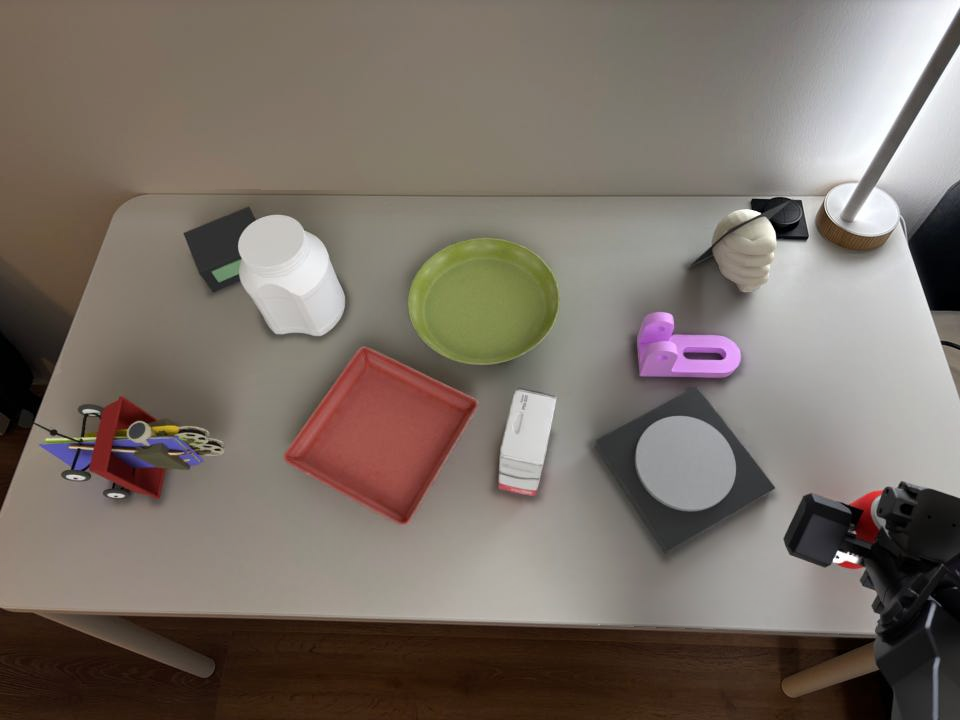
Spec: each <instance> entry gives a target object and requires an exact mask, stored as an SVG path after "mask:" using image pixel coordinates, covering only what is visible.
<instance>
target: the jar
mask: <svg viewBox="0 0 960 720" xmlns="http://www.w3.org/2000/svg"><path fill="white" fill-rule="evenodd" d="M238 250H239V253H240V256H241V258H242V260H241V263H240V267H239V276H240V281H239V282H240V283H241V285H242V287H243V288H244V290H245V292H246V293H247V295H249V296H250V298H251V300H252V301H253V303H254V305H255V307H257V309H258V311H259V312H260V314H261V315H262V317H263V320H264V322H265V323H266V324H267V326H268V327H269V329H270V331H272V333H274V334H275V335H285V334H297V333H298V334H304V335H305V334H306V335H310V336H312V337H322V336H324V335H326V334H327V333H329V332H330V331H331V330H333V328H334V327H336V325H337V324H338V323H339V321H340V320H341V318H342V317H343V315H344V312H345V308H346V296H345V292H344V289H343V287H342V285H341V283H340V282H339V279H338V277H337V273H336V271H335V269H334V267H333V265H332V261H331V259H330V255H329V253H328V250H327V247H326V246H325V244H324V243H323V241H322V240H321V239H320V238H319V237H317V236H316V235H314V234H313V233H311V232H309V231H306V230H304V227H303V226H302V225H301V223H300V222H299V221H298V220H297V219H295V218H293V217H291V216H288V215H284V214H271V215H266V216H263V217H260V218H257V219H256V221H254V222H253V223H251V224H250V225H249V226H248V227H247V228H246V229H245V230H244V231H243V233H242V234H241V236H240V239H239V242H238Z"/></svg>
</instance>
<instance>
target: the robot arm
mask: <svg viewBox="0 0 960 720" xmlns="http://www.w3.org/2000/svg"><path fill="white" fill-rule="evenodd" d="M882 490H883V492H882V495H881V498H880V501H879V504H878V507H877V510H876V513H877V516H878V517H880V518H883V519H885V521H886V524H885V526H881V528H880V530H879V532H878V534H877V536H876V538H875V540H874V543H871V542H868V541H865V540H862V539H860V538H857V537H856V536H857V533H856V531H854V529H855V527H856V525H857V523H858V521H859V520H860V518H861V516H862V514H863V512H864V510H862V509H859V508H856V507H853V506H850V505H849V504H847V503H845V502H843V501H837V500H833V499H830V498H828V497H825V496H821V495H819V494H816V493H813V492H810V493H807V494H805V495H803V496H802V498H801V500H800V501H799V504H798V507H797V508H796V511H795V513H794V515H793V517H792V519H791V521H790V522H789V526H788V528H787V530H786V531H785V534H784V536H783V537H782V539H783V543H784V546H785V549H786V551H787V553H788V555H789V556H792V557H794V558H796V559H799V560H803V561H804V562H807V563H811V564H813V565H817V566H819V567H821V568H824V569H825V568H828V567H830V566H831V565H832V563H833V564H835V563H836V564H835V565H837V564H840V563H842V562H844V561H849V562H852V563H854V564H857V565H860V566H863V568H865V569H864V571H863V573H862V574H861V577H860V578H859V582H860V584H861V586H862V587H864V588H866V589H870V590H872V591H875V593H876V596H875V598H874V599H873V601H872V604H871V609H872V611H873V613H875V614H876V615H879V619H877V621H876V623H877V624H876V626H875V628H874V633H875V634H876V635H877V636H876V638H875V640H874V642H873V655H874V661H875V665H876V667H877V668H878V671H880V673H881V674H882V676H883V677H884V679H885V681H886V682H887V683H888V685H889V686H890V688H891V690H892V694H893V698H892V706H891V707H892V708H891V716H890V720H960V497H958V496H955V495H952V494H949V493H946V492H943V491H940V490H938V489H934V488H930V487H926V486H921V485H916V484H912V483H910V482H906V481H903V480H901V481H900V482H899V483H898V486H897V487H892V486H889V485H888V486H886V487H884V489H882ZM845 551H846V552H845ZM858 555H859V556H858Z"/></svg>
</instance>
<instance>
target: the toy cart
mask: <svg viewBox="0 0 960 720" xmlns="http://www.w3.org/2000/svg"><path fill="white" fill-rule="evenodd" d="M77 412H78V413H79V414H80V415H82V416H83V418H82V423H81V424H82V425H81V433H80V436H78V437H76V436H75V437H74V436H73V437H71V436H67V435H65V434H62V433H60V432H58V430H57V429H55V428H53V429H50V428H47V427H45V426H43V425H41V424H38V423H37V422H34V417H35V415H34V414H33V413H32V412H31V411H29V410H27V409H25V408H22V409H21V412H20V415H19V419H18V422H17V426H19V427H22V428H26V429H27V428H28V429H30V428H32V426H33V425H35V426H37V427H39V428H41V429H43V430H45V431H47V432H49V435H50V436H52V437H44V438H43V439H44V440H43V441H44V442H42V443H39V444H38V446H39V447H41V448H42V449H44V450H45V451H46V452H48V453H50V454H51V455H52V456H54V457H56V458H57V459H58V460H60V461H61V462H63V463H65V464H66V465H67V466H69V467H70V469H65V470H63V471H61V473H60V476H61V478H62V479H63V480H67V481H69V482H70V481H71V482H87V481H89V480H91V479H92V474H91V473H93V474H95V475H97V476H99V477H101V478H104V479H106V480H108V481H110V482H112V485H111V488H106V489H104V490H103V491H102V495H103V496H104V497H105V498H108V499H113V500H125V499H128V498H129V497H131V493H130V491H131V492H132V493H133V492H134V493H135V494H140V495H145V496H150V497H152V498H153V499H156V500H160V499H161V494H162V489H163V483H164V477H165V472H166V469H169V470H182V471H183V470H184V471H190V470H191V466H198V465H199V464H200V463H204V461H205V460H204V459H203V458H202V457H201V456H205V457H216V456H221V455H223V454H224V453H225V451H224V449H223V448H225V445H226V443H224V441H222V440H220V439H217V438H212V437H211V438H210V437H209V436H210V432H209V431H208V430H207V429H206V428H203V427H199V426H194V425H184V426H180V425H178V424H176V423H174V422H173V421H172V420H171V419H170V418H168V417H165V418H162V419H158V418H156V417H155V416H153V415H151V414H150V413H149V412H147V411H146V410H144V409H142V408H141V407H139V405H137V404H135V403H133V402H132V401H130V400H129V399H128V398H126V397H125V396H123V395H120V396H118V399H117V400H115V401H113V402H111V403H109V404H107V405H106V406H104V407H103V406H101V405H98V404H92V403H85V404H81V405H79V406H78V407H77ZM88 417H89V418H98V419H99V420H100V421H99V424H98V429H97V431H93V432H86V428H87V427H86V426H87V419H88ZM32 424H33V425H32ZM203 431H204V432H203ZM205 432H206V433H205ZM55 436H58V437H55ZM89 471H90V472H91V473H90V472H89ZM116 485H119V486H121V487H120V488H117V487H116ZM126 489H127V490H126Z"/></svg>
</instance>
